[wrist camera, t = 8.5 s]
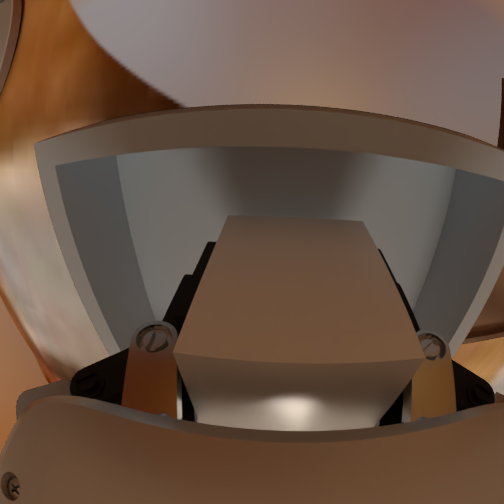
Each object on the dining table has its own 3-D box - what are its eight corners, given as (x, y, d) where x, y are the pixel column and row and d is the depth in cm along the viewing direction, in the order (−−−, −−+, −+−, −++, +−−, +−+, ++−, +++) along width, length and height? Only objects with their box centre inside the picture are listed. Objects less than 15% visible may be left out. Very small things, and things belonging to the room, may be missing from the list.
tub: (104, 120, 11) (33, 143, 7) (467, 134, 10) (533, 164, 5) (165, 361, 21) (146, 412, 16) (387, 370, 19) (398, 422, 15)
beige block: (228, 215, 10) (172, 352, 5) (362, 221, 9) (425, 358, 4) (234, 314, 12) (208, 439, 7) (341, 318, 12) (358, 444, 7)
